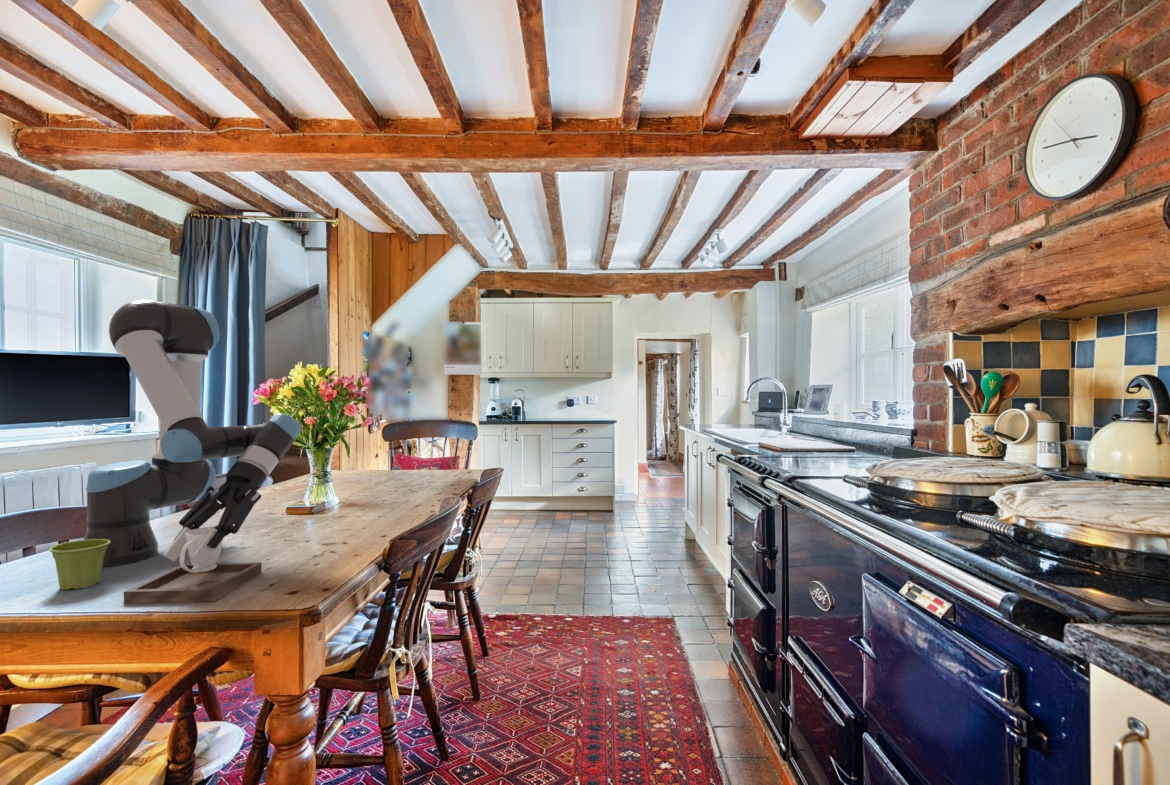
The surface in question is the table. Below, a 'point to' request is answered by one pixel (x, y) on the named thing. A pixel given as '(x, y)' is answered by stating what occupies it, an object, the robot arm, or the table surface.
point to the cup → (193, 542)
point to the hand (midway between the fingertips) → (182, 559)
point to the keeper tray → (193, 584)
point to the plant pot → (79, 562)
